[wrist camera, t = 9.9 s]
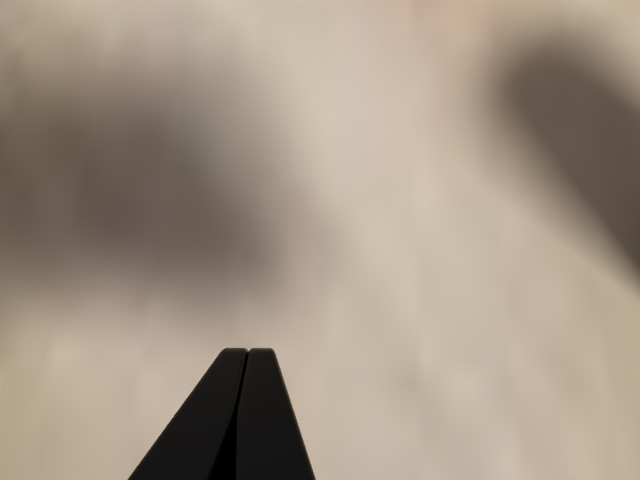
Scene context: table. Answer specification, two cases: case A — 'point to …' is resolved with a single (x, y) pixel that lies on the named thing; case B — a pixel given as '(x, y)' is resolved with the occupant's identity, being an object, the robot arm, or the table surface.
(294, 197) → the table surface
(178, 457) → the robot arm
